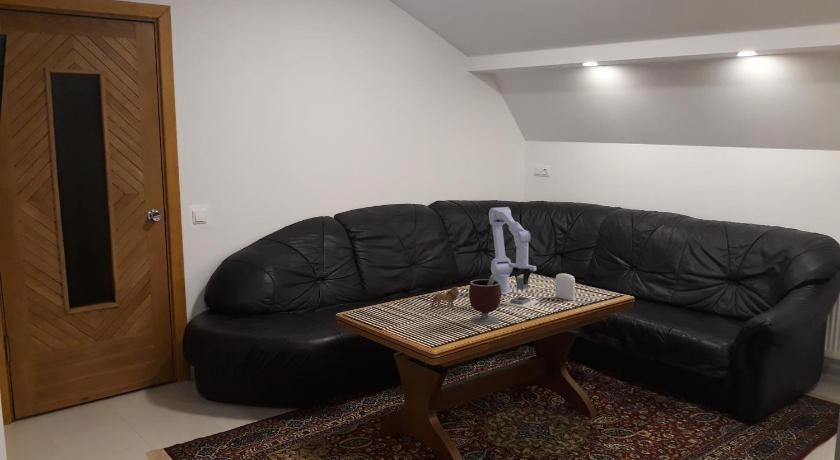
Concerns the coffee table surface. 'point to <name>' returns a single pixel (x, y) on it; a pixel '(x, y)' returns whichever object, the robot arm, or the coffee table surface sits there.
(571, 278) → the photo printer
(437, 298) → the lion figurine
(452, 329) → the coffee table surface
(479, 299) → the mate gourd
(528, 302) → the plate
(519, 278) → the block
